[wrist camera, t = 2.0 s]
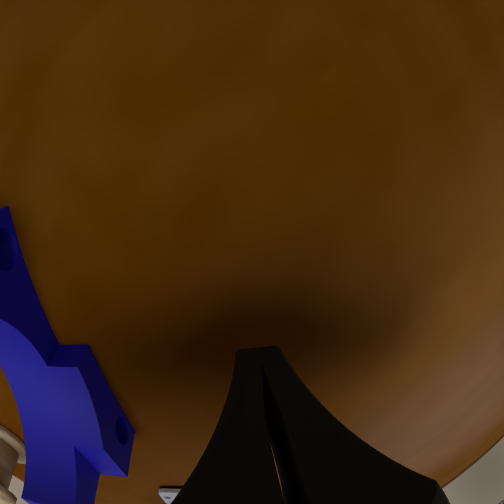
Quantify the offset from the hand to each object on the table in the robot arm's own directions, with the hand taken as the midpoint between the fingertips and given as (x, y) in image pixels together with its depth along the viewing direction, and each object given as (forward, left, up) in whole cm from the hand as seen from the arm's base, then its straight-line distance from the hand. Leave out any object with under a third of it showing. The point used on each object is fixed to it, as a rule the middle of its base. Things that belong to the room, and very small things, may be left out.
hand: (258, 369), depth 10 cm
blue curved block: (0, +9, -2) cm, 9 cm away
